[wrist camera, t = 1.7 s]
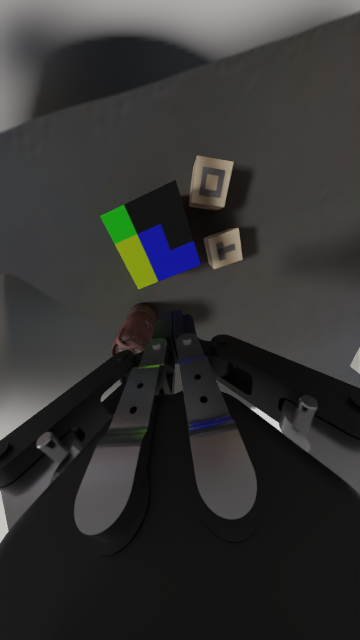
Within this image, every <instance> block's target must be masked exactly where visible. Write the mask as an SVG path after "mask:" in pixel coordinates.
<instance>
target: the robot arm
mask: <svg viewBox="0 0 360 640" xmlns="http://www.w3.org/2000/svg"><path fill="white" fill-rule="evenodd" d="M178 359H179V368H180V375H181V381H182V388H183V391H181V392H178V393H176V394H174V385H175V370H174V369H175V364H178ZM237 366H238V367H237ZM246 371H247V372H246ZM118 380H120V382H121V385H120V386H119V387H118V388H117V389H116V390H115V391H114V392H113V393H112V394H110V395H109V396H108V397H107V398H106V399H105V400H104V401H103V402H101V401H100V400H101V396H102V395H103V393H104V392H105V391H106V390H108V389H109V388H110V387H111V386H112V385H113V384H114V383H116V382H117V381H118ZM217 381H219V382H220V383H222V384H223V385H225V386H226V387H228V388H229V389H230V390H232V391H233V392H235V393H236V394H238V395H239V396H241V397H242V398H244V399H245V400H247V401H248V402H249V403H251V404H252V405H254V406H255V407H257V408H258V409H260V410H261V411H263V412H264V413H266V414H267V415H268V416H270V417H271V418H273V419H274V420H276V421H277V422H279V425H280V428H281V431H282V433H281V432H280V431H279V430H277V429H276V428H275V427H273V426H272V425H271V424H269V423H268V422H267V421H265V420H264V419H263V418H261V417H260V416H259V415H257V414H256V413H255V412H253V411H252V410H251V409H250V408H248V407H247V406H246V405H244V404H243V403H242V402H240V401H239V400H238V399H236V398H234V397H233V396H231V395H229V394H227V393H224V392H221V391H220V388H219V385H218V383H217ZM0 491H1V494H2V499H3V504H4V509H5V514H6V519H7V524H8V529H9V532H8V533H7V534H6V536H5V537H4V539H3V540H2V542H1V543H0V640H360V388H358V387H355V386H353V385H350V384H348V383H345V382H343V381H340V380H338V379H335V378H333V377H331V376H328V375H326V374H323V373H321V372H318V371H316V370H313V369H311V368H308V367H306V366H303V365H301V364H299V363H296V362H294V361H291V360H289V359H286V358H284V357H281V356H279V355H276V354H274V353H271V352H269V351H266V350H264V349H262V348H259V347H257V346H254V345H252V344H249V343H247V342H244V341H242V340H239V339H237V338H234V337H232V336H229V335H217V336H215V337H213V338H212V340H211V341H204V340H201V339H199V338H198V337H197V335H196V331H195V327H194V322H193V318H192V316H190V315H189V314H188V315H183V314H182V310H177V311H173V312H172V311H171V312H165V313H163V319H159V320H157V322H156V323H155V325H154V331H153V336H152V340H151V341H150V342H148V343H147V345H146V347H145V350H144V351H142V352H139V353H137V354H134V353H133V352H132V351H131V350H123V351H120V352H118V353H117V354H115V355H114V356H113V357H111V358H110V359H109V360H107V361H106V362H105V363H103V364H102V365H101V366H99V367H98V368H97V369H95V370H94V371H93V372H91V373H90V374H89V375H87V376H86V377H85V378H83V379H82V380H81V381H79V382H78V383H77V384H75V385H74V386H73V387H71V388H70V389H69V390H67V391H66V392H65V393H63V394H62V395H61V396H59V397H58V398H57V399H55V400H54V401H53V402H51V403H50V404H49V405H48V406H46V407H45V408H43V409H42V410H41V411H39V412H38V413H37V414H35V415H34V416H33V417H31V418H30V419H29V420H27V421H26V422H25V423H23V424H22V425H21V426H19V427H18V428H17V429H15V430H14V431H13V432H11V433H10V434H9V435H7V436H6V437H5V438H3V439H2V440H1V441H0Z"/></svg>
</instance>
